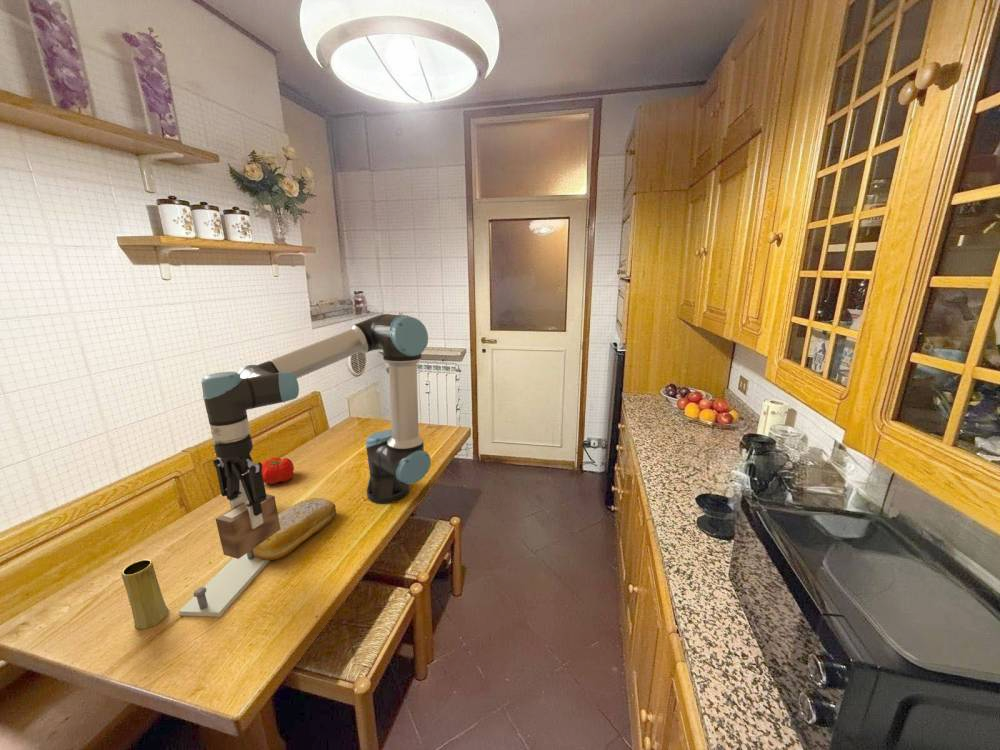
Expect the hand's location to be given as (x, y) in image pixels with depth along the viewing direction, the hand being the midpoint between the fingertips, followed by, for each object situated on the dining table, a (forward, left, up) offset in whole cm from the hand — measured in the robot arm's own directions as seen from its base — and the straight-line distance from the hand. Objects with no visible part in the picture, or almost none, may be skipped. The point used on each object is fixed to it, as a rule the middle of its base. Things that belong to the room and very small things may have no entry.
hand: (249, 523), depth 100 cm
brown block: (0, 0, -5) cm, 5 cm away
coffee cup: (+24, -31, -17) cm, 43 cm away
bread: (+1, -19, -18) cm, 26 cm away
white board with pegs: (+7, +1, -17) cm, 19 cm away
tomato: (+27, -52, -17) cm, 61 cm away
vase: (+18, +12, -17) cm, 28 cm away
